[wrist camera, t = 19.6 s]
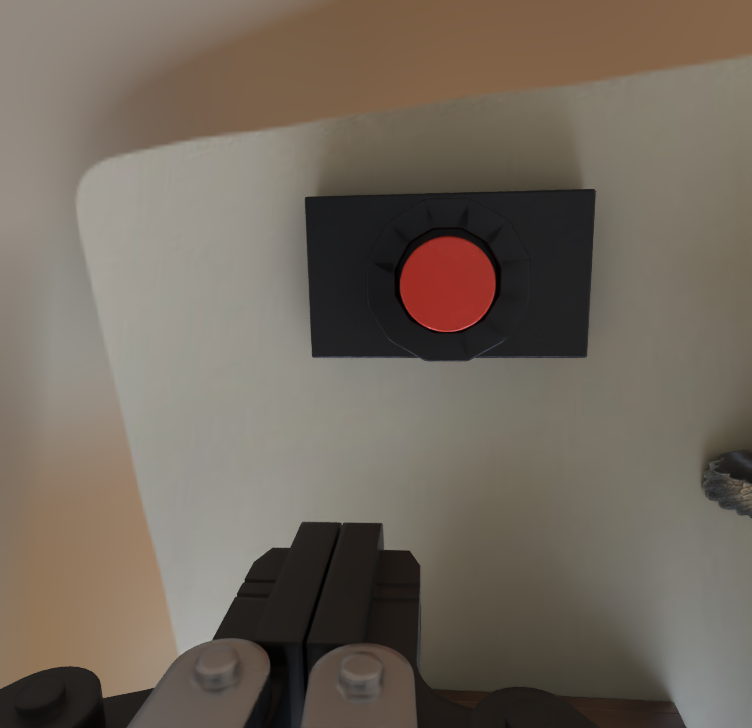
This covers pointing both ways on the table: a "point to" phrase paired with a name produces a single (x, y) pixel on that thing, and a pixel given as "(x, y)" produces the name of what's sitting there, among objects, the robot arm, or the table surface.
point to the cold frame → (601, 710)
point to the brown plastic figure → (731, 481)
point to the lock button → (447, 284)
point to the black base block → (476, 224)
